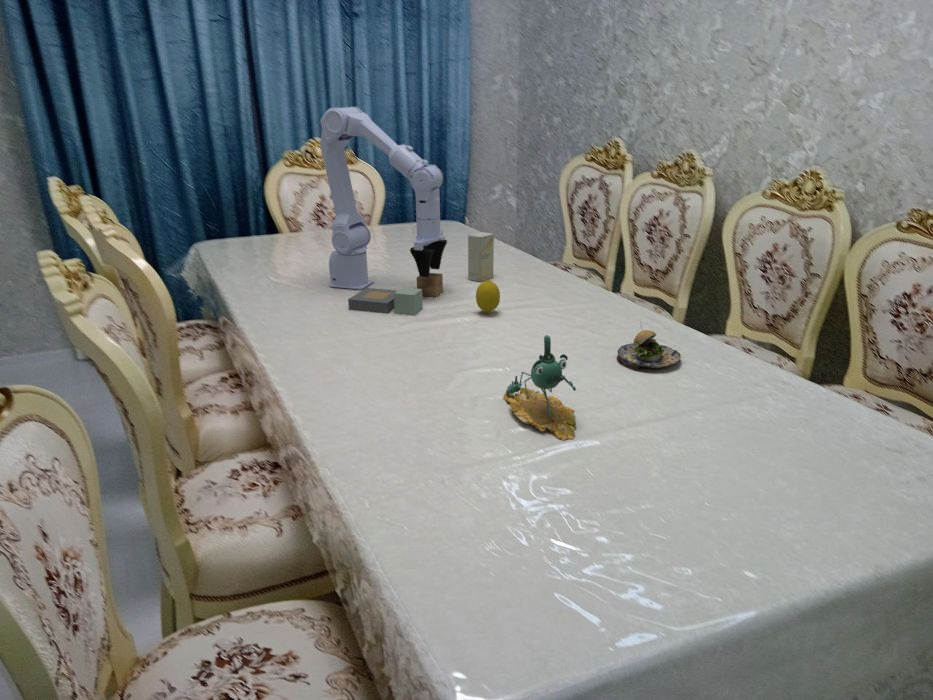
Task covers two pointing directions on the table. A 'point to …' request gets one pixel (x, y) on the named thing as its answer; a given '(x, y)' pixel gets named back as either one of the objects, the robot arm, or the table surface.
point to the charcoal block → (373, 300)
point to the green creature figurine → (543, 397)
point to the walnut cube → (430, 285)
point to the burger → (646, 353)
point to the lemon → (487, 296)
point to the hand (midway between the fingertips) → (429, 272)
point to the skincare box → (480, 256)
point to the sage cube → (408, 301)
